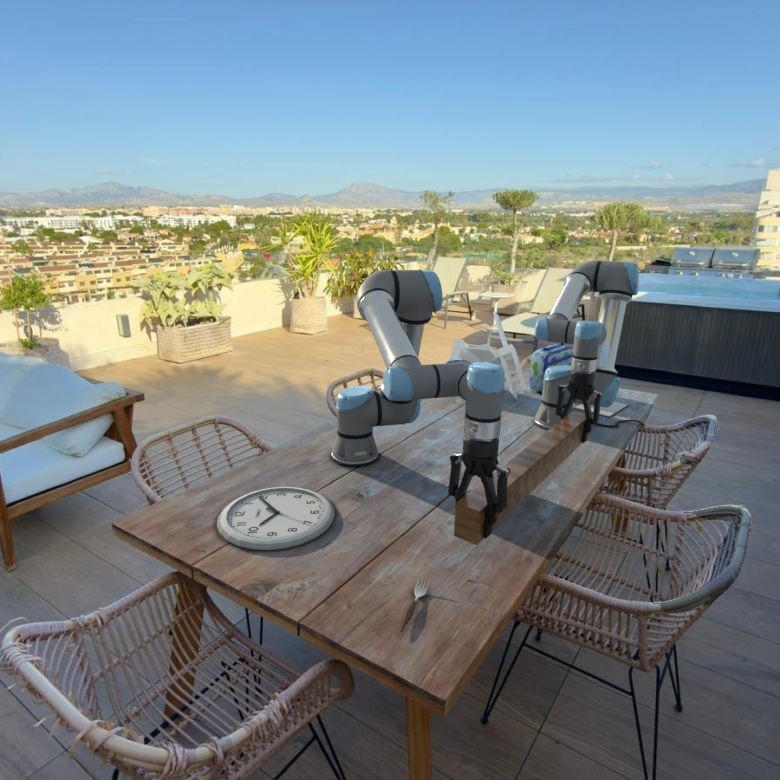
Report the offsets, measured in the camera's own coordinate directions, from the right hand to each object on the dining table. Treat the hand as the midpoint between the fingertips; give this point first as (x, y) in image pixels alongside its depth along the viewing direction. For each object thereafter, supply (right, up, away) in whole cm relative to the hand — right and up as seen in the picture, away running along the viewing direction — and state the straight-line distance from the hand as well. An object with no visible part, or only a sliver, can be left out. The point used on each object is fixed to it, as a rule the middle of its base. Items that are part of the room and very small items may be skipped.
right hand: (573, 438), depth 171 cm
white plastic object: (-19, +15, +72) cm, 76 cm away
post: (-21, -9, -26) cm, 34 cm away
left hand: (-41, -16, -53) cm, 69 cm away
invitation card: (+31, +9, +55) cm, 64 cm away
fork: (-55, -28, -66) cm, 90 cm away
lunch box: (+16, +16, +79) cm, 83 cm away
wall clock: (-90, -17, -34) cm, 98 cm away
